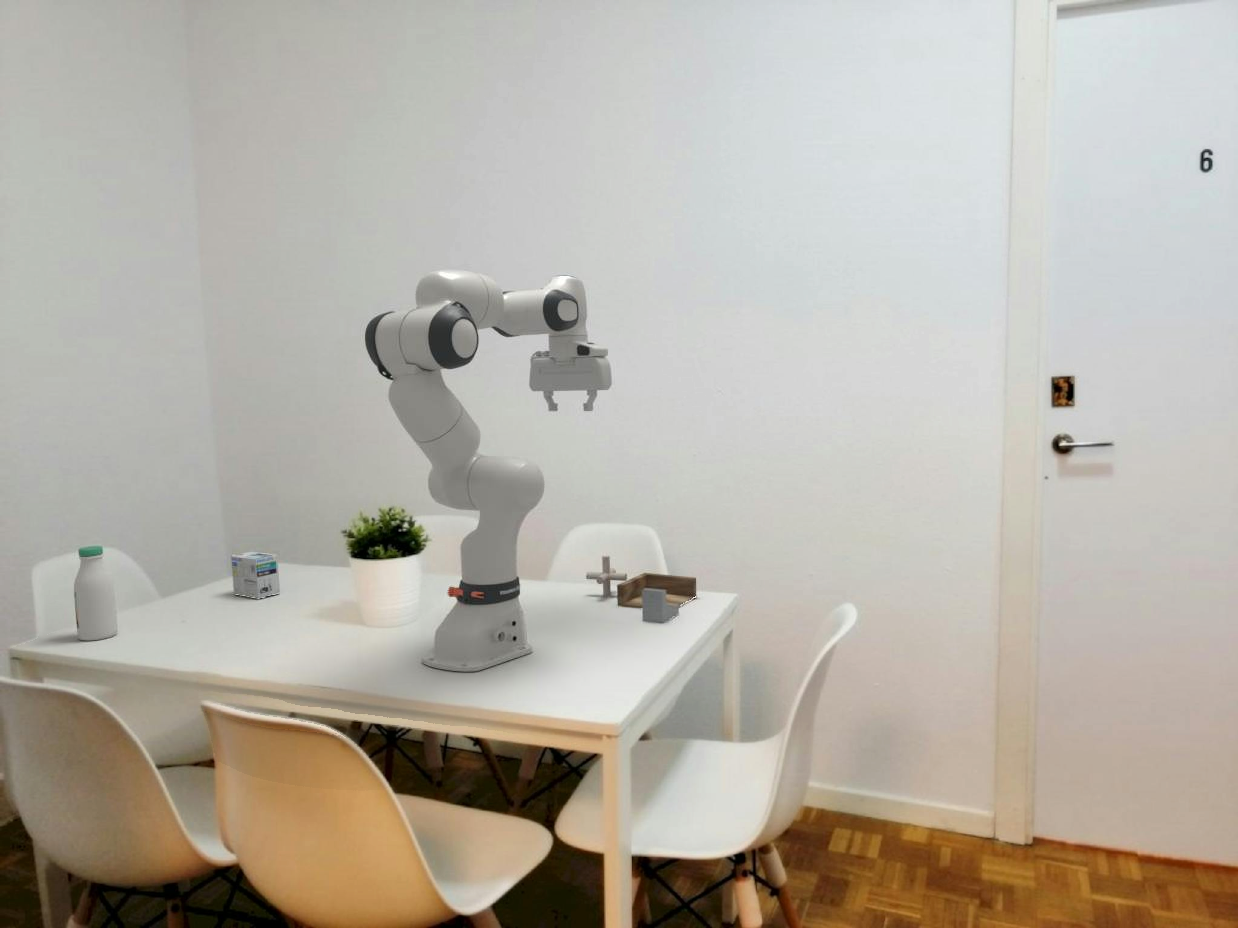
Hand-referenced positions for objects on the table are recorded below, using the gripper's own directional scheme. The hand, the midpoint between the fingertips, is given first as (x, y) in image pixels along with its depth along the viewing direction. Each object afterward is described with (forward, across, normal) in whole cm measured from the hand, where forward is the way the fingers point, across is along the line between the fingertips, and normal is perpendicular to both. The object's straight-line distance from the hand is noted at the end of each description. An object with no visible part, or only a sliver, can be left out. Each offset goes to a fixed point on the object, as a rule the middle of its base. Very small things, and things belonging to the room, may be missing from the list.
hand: (570, 411), depth 205 cm
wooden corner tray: (+46, +13, +15) cm, 51 cm away
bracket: (+46, +20, +3) cm, 51 cm away
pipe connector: (+47, -1, +15) cm, 49 cm away
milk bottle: (+47, -87, -60) cm, 116 cm away
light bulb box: (+47, -86, -19) cm, 100 cm away
